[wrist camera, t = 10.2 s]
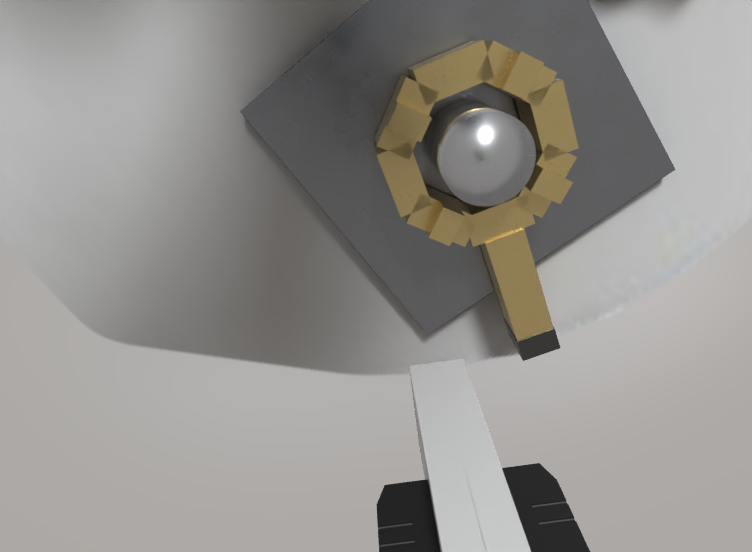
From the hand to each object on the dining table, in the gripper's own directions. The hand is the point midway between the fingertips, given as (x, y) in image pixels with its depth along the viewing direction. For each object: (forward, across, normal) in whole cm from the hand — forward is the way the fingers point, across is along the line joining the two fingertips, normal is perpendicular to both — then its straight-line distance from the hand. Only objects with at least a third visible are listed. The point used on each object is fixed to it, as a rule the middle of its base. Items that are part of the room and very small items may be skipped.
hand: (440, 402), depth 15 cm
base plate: (+23, +5, +3) cm, 24 cm away
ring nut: (+21, +6, -2) cm, 22 cm away
